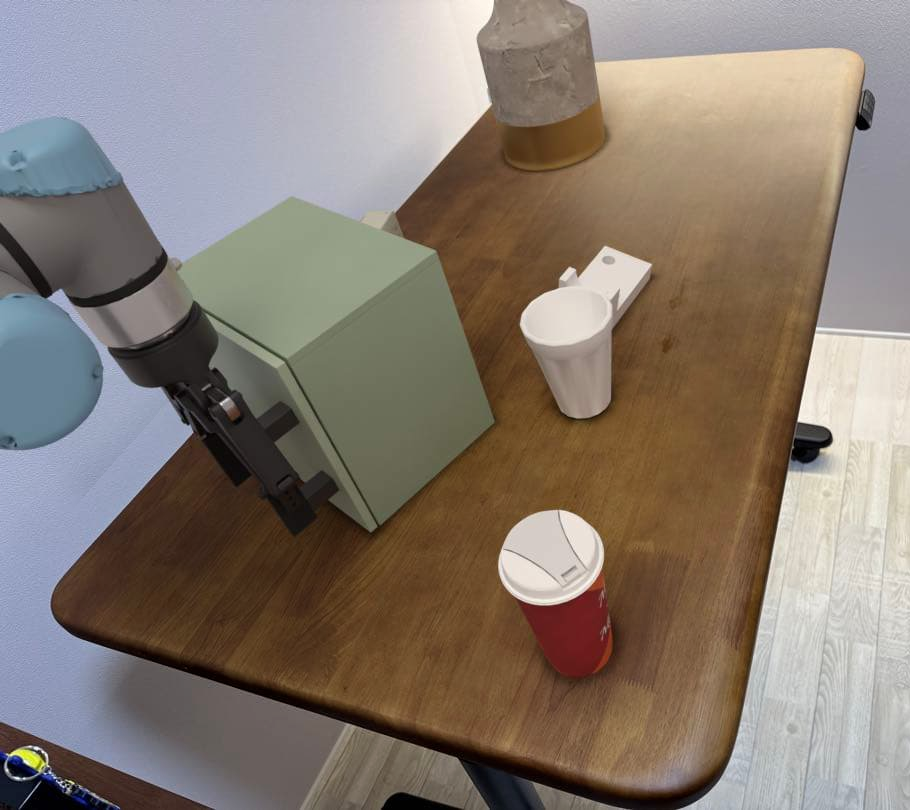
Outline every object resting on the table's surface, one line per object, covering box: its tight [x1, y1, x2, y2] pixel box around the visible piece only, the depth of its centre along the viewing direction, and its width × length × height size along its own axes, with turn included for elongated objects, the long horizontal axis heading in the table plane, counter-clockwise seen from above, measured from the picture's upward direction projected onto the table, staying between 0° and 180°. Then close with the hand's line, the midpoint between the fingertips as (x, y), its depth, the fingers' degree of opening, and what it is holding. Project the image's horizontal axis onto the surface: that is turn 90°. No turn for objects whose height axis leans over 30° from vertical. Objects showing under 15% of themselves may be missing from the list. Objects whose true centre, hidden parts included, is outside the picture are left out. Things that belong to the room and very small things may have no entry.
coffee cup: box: [497, 509, 613, 678], centre depth 64 cm, size 8×8×15 cm
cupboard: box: [177, 195, 496, 526], centre depth 87 cm, size 18×26×24 cm
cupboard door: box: [205, 313, 378, 533], centre depth 81 cm, size 7×26×24 cm, turn 48°
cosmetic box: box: [359, 209, 405, 239], centre depth 111 cm, size 6×4×12 cm
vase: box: [476, 0, 607, 172], centre depth 130 cm, size 18×18×30 cm
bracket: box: [558, 245, 653, 330], centre depth 101 cm, size 13×7×8 cm, turn 149°
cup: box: [519, 286, 613, 419], centre depth 86 cm, size 10×10×13 cm
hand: (273, 500), depth 76 cm, fingers open, 10 cm apart
